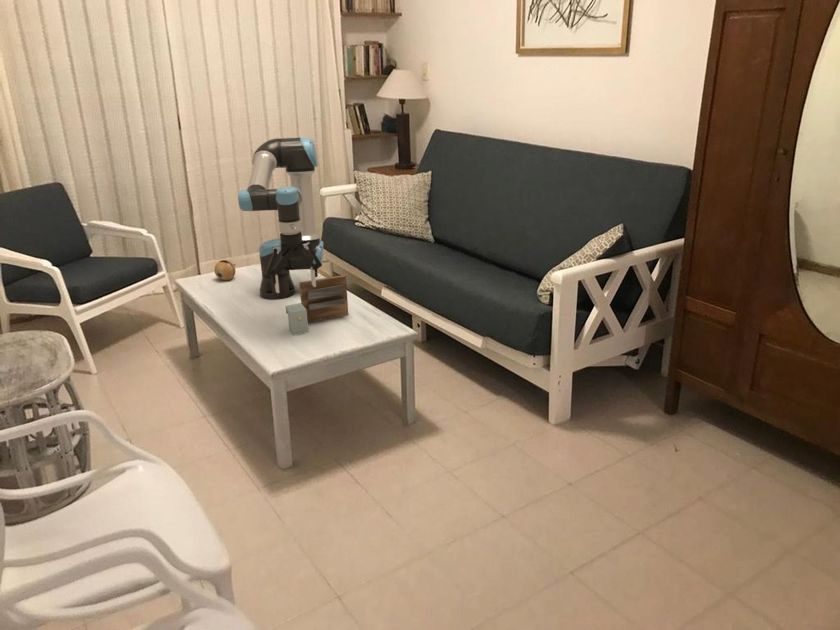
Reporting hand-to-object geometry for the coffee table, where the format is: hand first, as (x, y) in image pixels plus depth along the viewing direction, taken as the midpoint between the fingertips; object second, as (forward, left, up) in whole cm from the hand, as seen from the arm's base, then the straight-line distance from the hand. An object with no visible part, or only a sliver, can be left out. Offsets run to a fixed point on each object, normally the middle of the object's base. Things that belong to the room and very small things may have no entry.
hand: (295, 288), depth 250 cm
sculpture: (-76, -13, -17) cm, 79 cm away
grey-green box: (0, 0, -17) cm, 17 cm away
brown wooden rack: (-8, +13, -17) cm, 22 cm away
